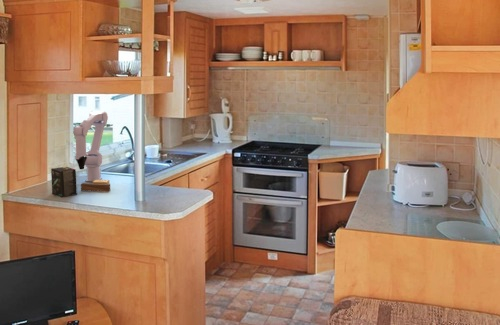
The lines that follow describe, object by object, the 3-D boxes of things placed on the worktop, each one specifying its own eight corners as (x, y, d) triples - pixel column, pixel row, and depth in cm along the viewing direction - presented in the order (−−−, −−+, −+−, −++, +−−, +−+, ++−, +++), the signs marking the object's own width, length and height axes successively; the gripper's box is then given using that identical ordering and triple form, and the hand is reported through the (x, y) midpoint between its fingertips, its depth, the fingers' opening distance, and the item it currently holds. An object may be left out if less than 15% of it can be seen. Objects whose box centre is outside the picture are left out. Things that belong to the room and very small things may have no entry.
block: (95, 187, 297) (95, 179, 296) (109, 188, 297) (109, 179, 296) (92, 190, 291) (92, 181, 290) (106, 190, 291) (106, 182, 290)
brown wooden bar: (82, 189, 291) (82, 182, 290) (110, 190, 291) (110, 183, 290) (81, 190, 288) (80, 184, 287) (108, 191, 288) (108, 184, 287)
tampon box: (77, 194, 279) (76, 169, 276) (61, 197, 272) (60, 171, 270) (67, 191, 286) (66, 166, 284) (51, 194, 279) (50, 168, 277)
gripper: (83, 148, 290) (84, 171, 292) (91, 145, 304) (92, 167, 307) (71, 148, 290) (72, 171, 292) (80, 144, 304) (80, 166, 307)
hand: (81, 169), depth 299 cm, fingers closed
